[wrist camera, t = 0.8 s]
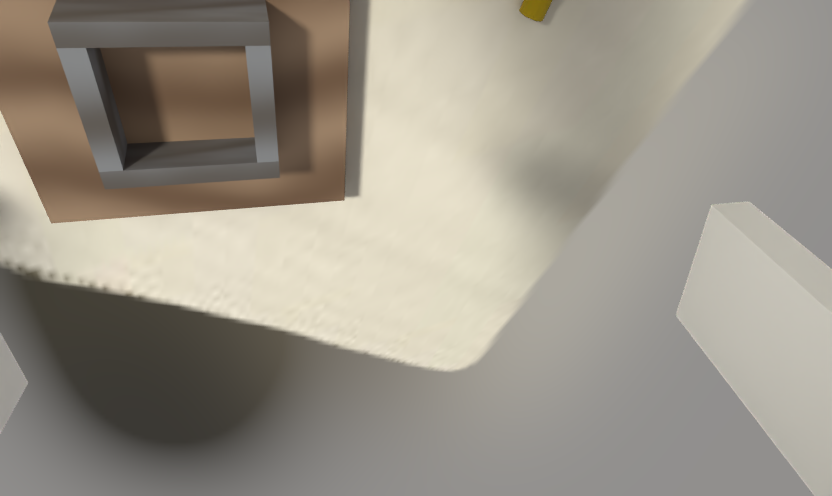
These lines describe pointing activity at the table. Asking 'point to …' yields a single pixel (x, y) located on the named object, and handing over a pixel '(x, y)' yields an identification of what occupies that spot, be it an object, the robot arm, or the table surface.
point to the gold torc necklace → (535, 9)
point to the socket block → (176, 103)
